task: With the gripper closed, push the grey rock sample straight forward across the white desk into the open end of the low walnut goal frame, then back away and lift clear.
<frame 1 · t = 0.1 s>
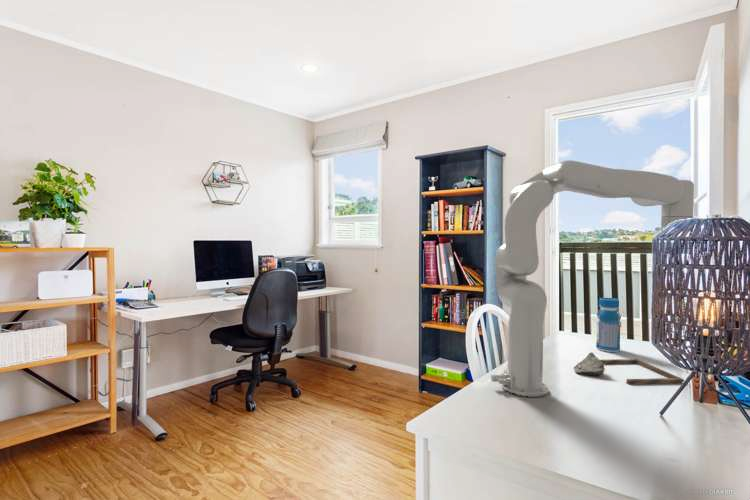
hand: (675, 281, 120), 31 cm above the table, tool pointing down, fingers open, 9 cm apart
beverage bottle: (607, 350, 159), on the table
rock sample: (589, 374, 132), on the table
goal frame: (631, 372, 133), on the table
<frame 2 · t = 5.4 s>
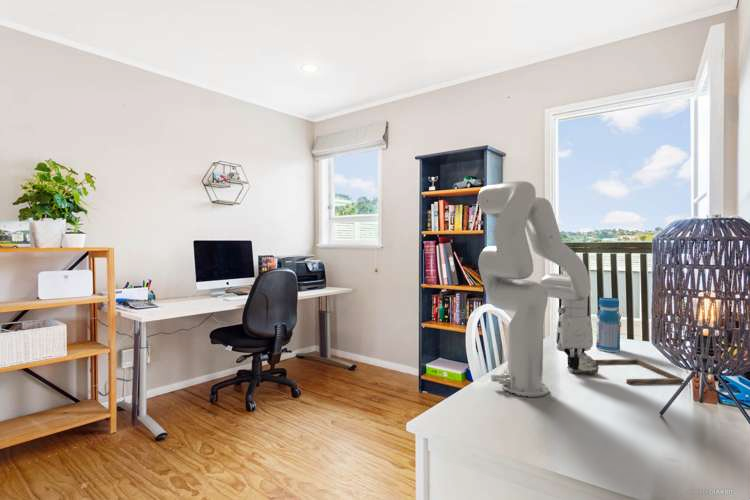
hand: (573, 368, 132), 2 cm above the table, tool pointing down, fingers closed
rock sample: (582, 373, 133), on the table, touching gripper
everything else where it was.
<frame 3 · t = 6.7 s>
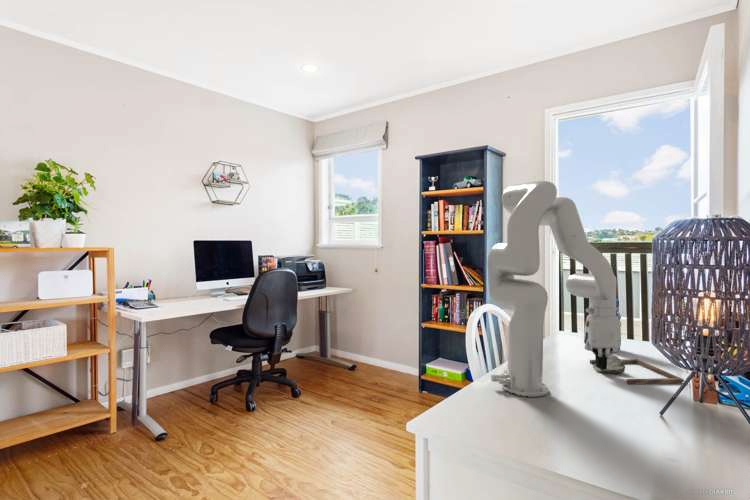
hand: (601, 367, 132), 2 cm above the table, tool pointing down, fingers closed
rock sample: (608, 372, 134), on the table
everything else where it was.
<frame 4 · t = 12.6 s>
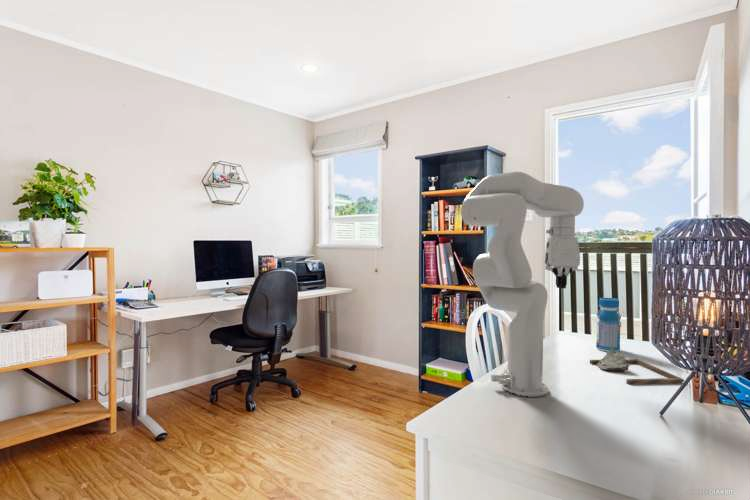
hand: (561, 287, 136), 27 cm above the table, tool pointing down, fingers closed
rock sample: (612, 370, 136), on the table
everything else where it was.
at the end: rock sample inside the target area on the goal frame (5.3 cm from its centre), point 0.0 cm above the goal frame's base; rock sample moved 10.6 cm from its start; beverage bottle moved 0.2 cm from its start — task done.
